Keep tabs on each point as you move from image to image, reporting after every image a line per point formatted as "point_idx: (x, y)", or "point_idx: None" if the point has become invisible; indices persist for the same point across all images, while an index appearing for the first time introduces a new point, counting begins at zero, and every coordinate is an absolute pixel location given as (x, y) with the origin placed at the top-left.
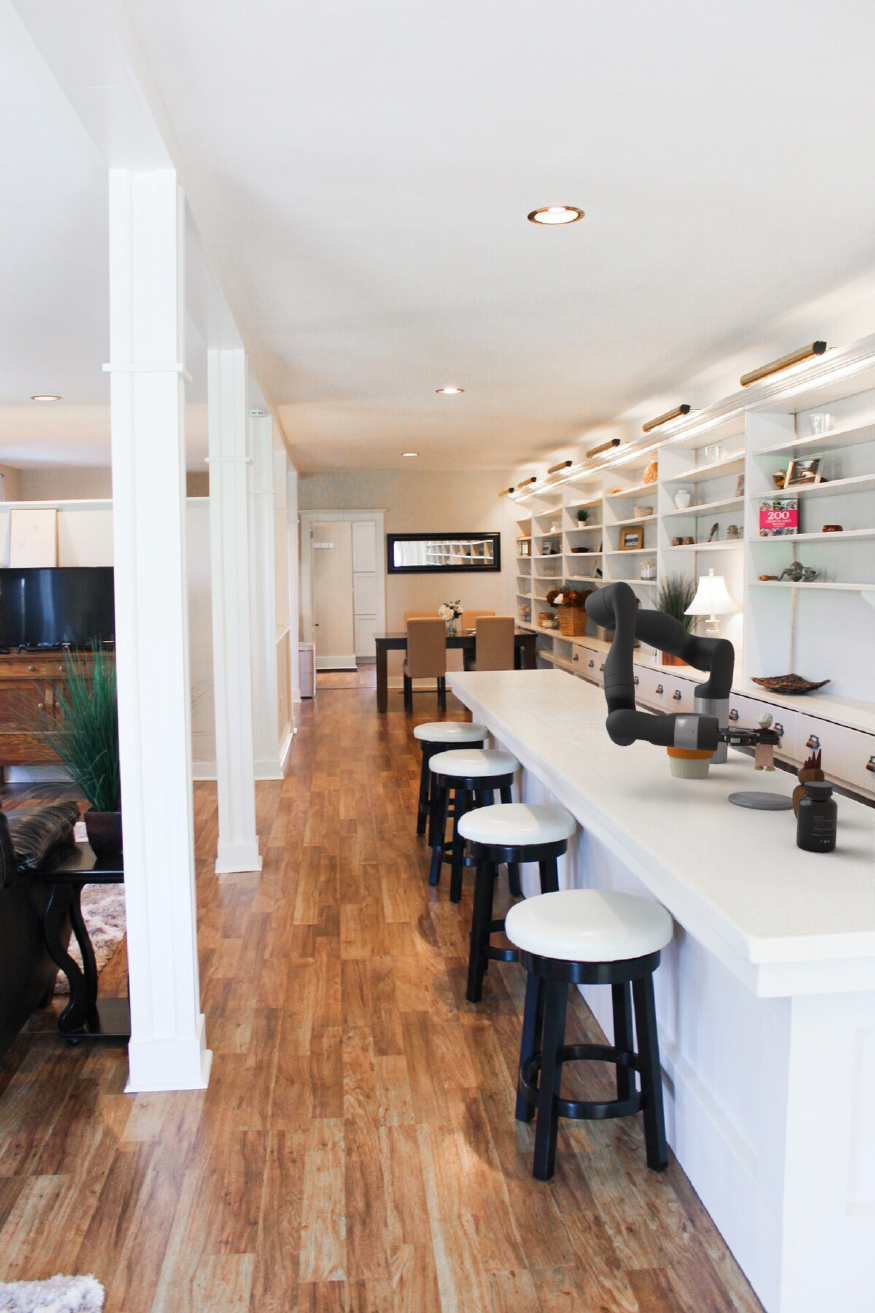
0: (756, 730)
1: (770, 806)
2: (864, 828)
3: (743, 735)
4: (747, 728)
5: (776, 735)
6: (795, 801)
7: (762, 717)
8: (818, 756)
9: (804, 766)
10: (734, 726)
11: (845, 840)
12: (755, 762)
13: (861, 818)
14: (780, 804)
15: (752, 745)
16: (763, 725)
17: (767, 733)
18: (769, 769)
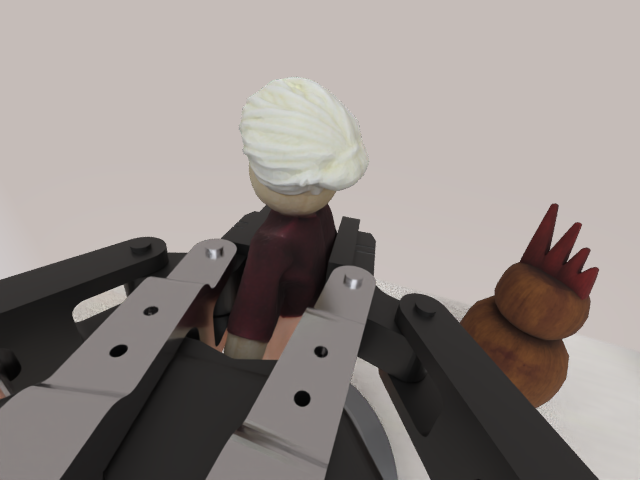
0: (283, 256)
1: (393, 461)
2: (470, 306)
3: (544, 423)
4: (201, 287)
5: (358, 221)
6: (549, 394)
7: (347, 131)
8: (553, 231)
9: (589, 289)
10: (83, 408)
11: (603, 364)
12: None
13: (392, 287)
14: (353, 415)
15: (432, 386)
16: (332, 196)
17: (331, 235)
18: None
